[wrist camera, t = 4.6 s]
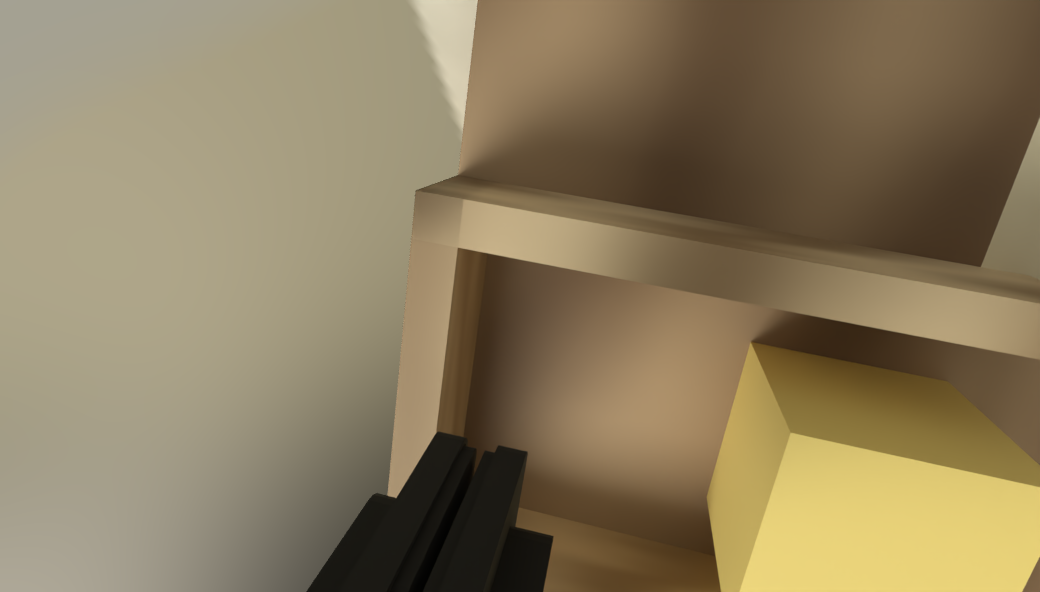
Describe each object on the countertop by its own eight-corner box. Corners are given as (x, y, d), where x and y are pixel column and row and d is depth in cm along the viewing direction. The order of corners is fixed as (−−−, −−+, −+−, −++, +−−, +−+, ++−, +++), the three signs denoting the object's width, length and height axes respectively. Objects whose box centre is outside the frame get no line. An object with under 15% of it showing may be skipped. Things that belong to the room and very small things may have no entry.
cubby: (1030, 275, 14) (1130, 319, 11) (880, 629, 17) (928, 736, 14) (457, 175, 15) (416, 190, 13) (419, 512, 19) (379, 584, 16)
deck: (2098, 102, 11) (2327, 102, 10) (1489, 775, 16) (1574, 843, 15) (505, -82, 15) (489, -103, 14) (434, 507, 20) (416, 539, 19)
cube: (948, 381, 15) (1070, 493, 10) (884, 538, 16) (970, 694, 12) (750, 342, 15) (790, 432, 11) (706, 497, 17) (727, 630, 12)
